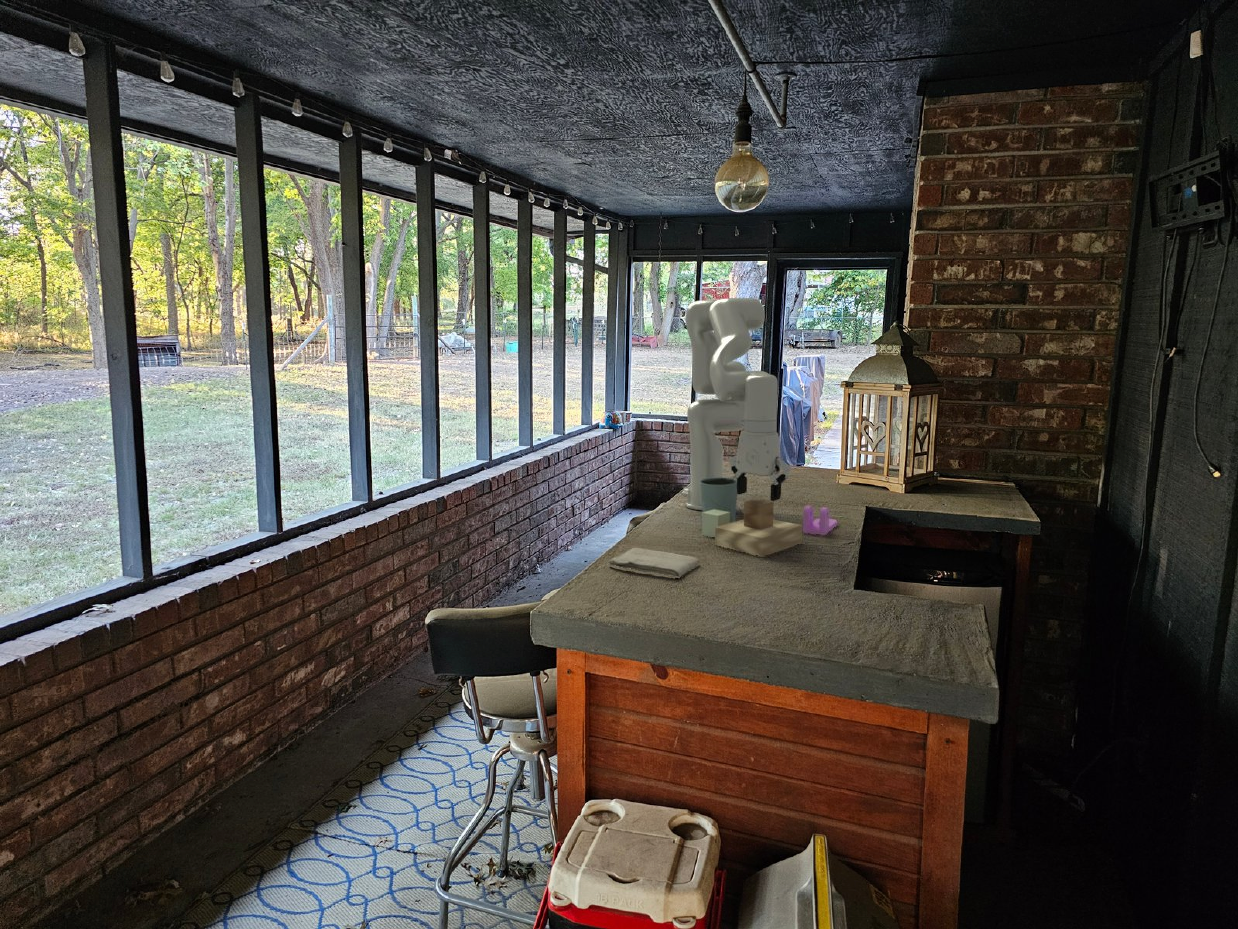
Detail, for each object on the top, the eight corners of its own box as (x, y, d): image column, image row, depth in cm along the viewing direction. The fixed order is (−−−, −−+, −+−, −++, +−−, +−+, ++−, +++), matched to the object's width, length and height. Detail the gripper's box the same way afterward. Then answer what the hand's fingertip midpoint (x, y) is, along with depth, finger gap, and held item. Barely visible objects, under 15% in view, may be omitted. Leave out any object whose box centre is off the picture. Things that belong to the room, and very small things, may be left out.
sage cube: (702, 535, 198) (702, 512, 197) (713, 531, 201) (714, 509, 200) (717, 539, 195) (717, 515, 193) (729, 535, 198) (729, 512, 197)
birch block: (715, 547, 189) (715, 527, 188) (755, 534, 199) (755, 515, 199) (762, 559, 179) (762, 538, 178) (801, 545, 189) (802, 525, 188)
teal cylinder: (742, 522, 211) (742, 478, 209) (731, 530, 202) (731, 485, 200) (706, 518, 215) (706, 476, 213) (694, 527, 206) (694, 483, 204)
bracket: (824, 536, 196) (825, 509, 195) (803, 533, 199) (803, 506, 198) (839, 524, 207) (840, 499, 206) (818, 522, 210) (819, 497, 209)
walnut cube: (743, 526, 189) (744, 502, 187) (756, 522, 192) (756, 498, 191) (760, 529, 185) (761, 505, 184) (773, 525, 188) (773, 501, 187)
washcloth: (630, 556, 182) (630, 544, 181) (701, 567, 173) (701, 553, 173) (605, 570, 172) (605, 557, 171) (679, 582, 163) (679, 568, 163)
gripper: (721, 424, 187) (720, 493, 191) (782, 432, 176) (780, 505, 179) (739, 421, 193) (738, 488, 196) (800, 428, 181) (797, 499, 184)
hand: (758, 496), depth 187 cm, fingers open, 9 cm apart
